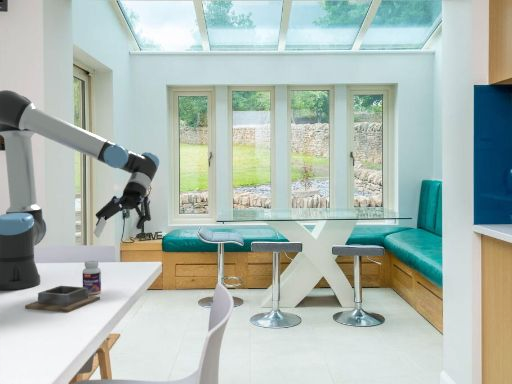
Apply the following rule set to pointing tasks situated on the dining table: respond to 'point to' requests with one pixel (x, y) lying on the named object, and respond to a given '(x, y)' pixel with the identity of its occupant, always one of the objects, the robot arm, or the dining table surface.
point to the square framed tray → (62, 299)
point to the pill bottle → (92, 277)
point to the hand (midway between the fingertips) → (114, 235)
